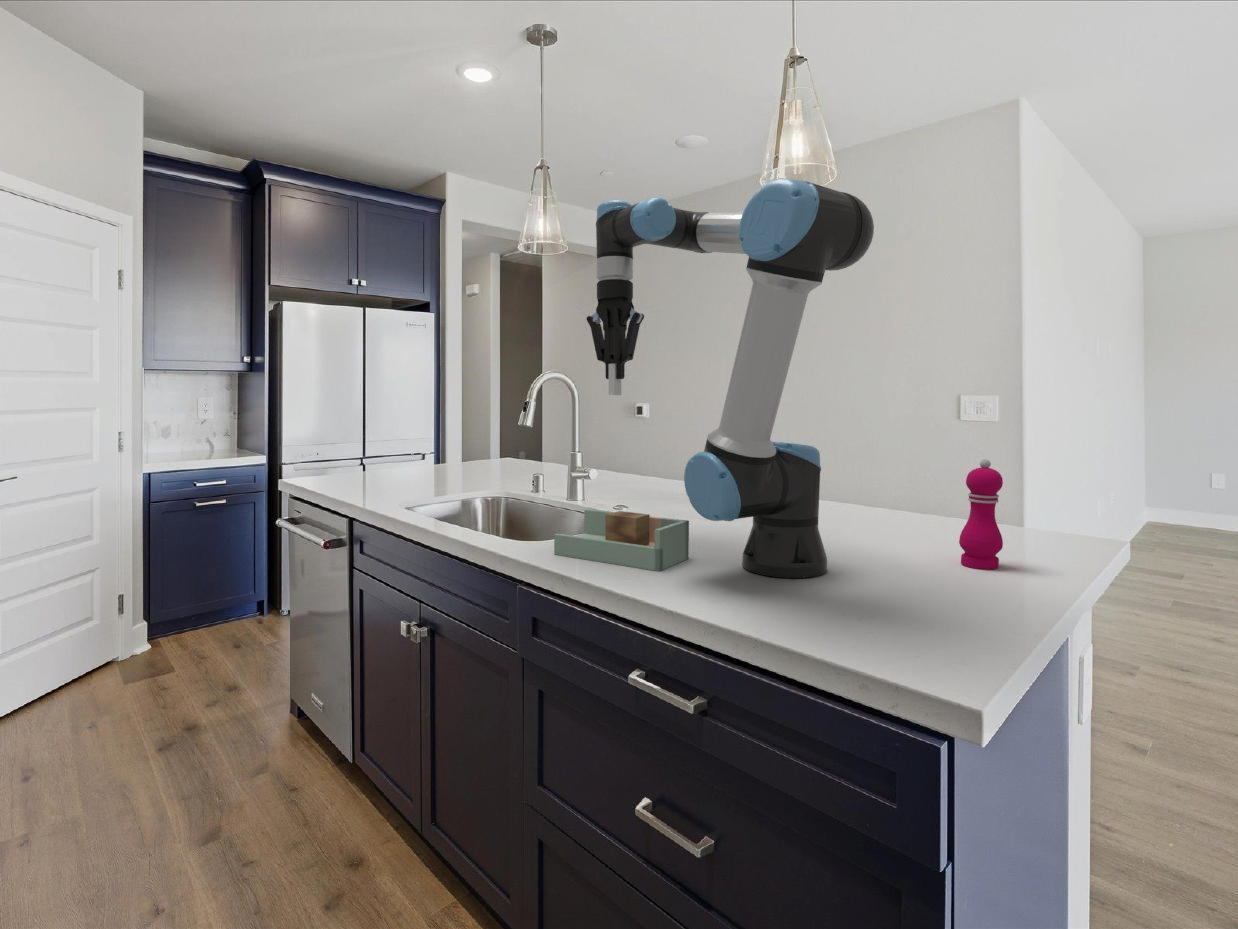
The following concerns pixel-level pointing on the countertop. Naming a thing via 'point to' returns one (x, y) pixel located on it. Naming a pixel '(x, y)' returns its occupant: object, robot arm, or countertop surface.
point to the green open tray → (660, 554)
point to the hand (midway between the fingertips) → (615, 395)
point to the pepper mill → (982, 519)
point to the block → (627, 527)
